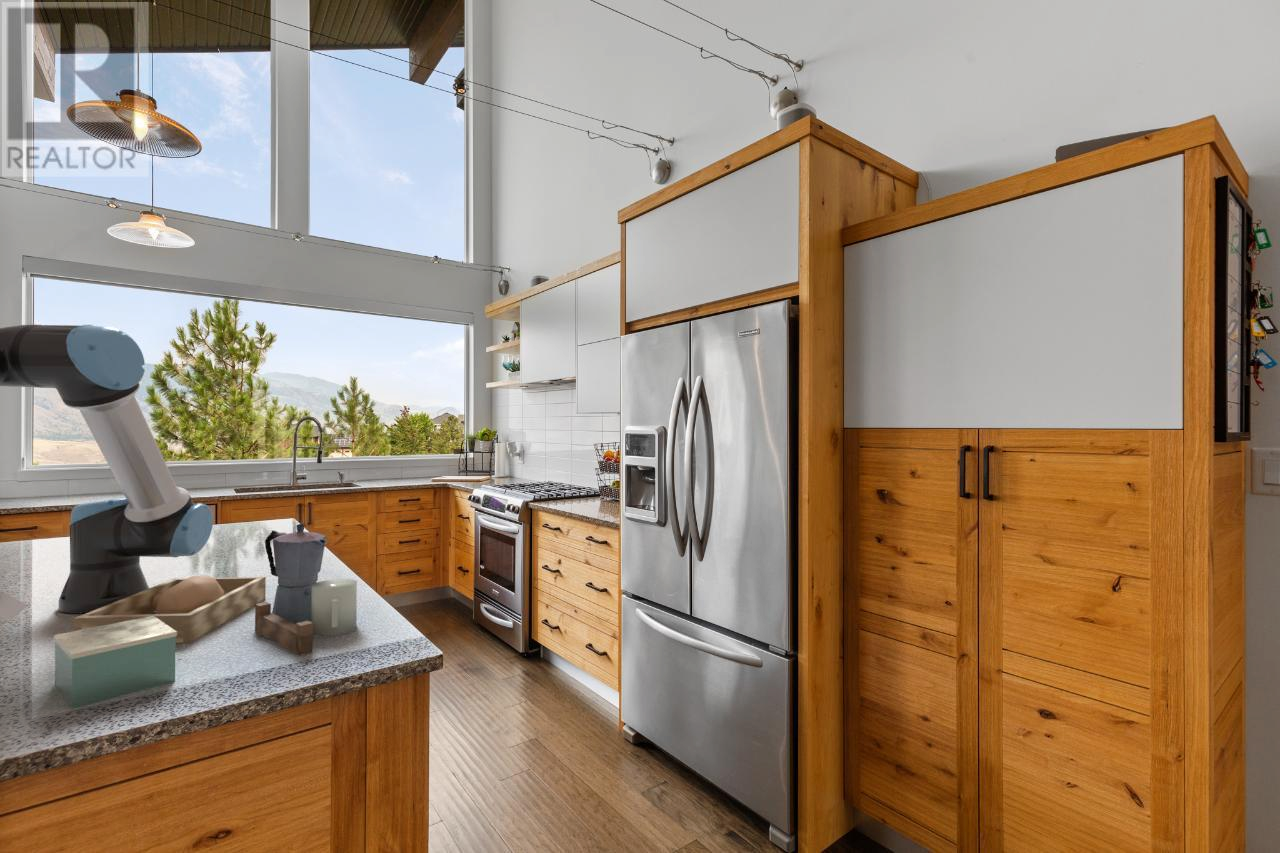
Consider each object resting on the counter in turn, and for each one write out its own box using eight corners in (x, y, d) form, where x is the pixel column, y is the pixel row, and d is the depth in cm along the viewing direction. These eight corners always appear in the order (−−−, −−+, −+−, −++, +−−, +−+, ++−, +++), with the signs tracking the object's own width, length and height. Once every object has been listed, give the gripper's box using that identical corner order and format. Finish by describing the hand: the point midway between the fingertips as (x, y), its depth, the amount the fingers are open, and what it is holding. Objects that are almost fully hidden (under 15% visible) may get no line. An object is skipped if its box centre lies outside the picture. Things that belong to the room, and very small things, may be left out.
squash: (178, 635, 116) (164, 590, 115) (137, 631, 126) (123, 590, 125) (239, 609, 125) (226, 567, 124) (195, 607, 135) (183, 569, 135)
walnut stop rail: (255, 630, 119) (255, 604, 119) (266, 628, 120) (266, 601, 120) (300, 655, 107) (301, 625, 107) (312, 652, 108) (312, 623, 108)
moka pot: (309, 631, 119) (310, 529, 119) (242, 625, 122) (243, 525, 122) (342, 616, 128) (343, 521, 128) (279, 611, 131) (280, 518, 131)
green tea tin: (53, 687, 93) (53, 635, 93) (153, 662, 103) (153, 615, 103) (70, 710, 86) (71, 654, 86) (176, 682, 96) (176, 631, 96)
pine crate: (174, 600, 138) (174, 578, 138) (265, 598, 140) (265, 576, 140) (73, 645, 110) (74, 618, 110) (190, 642, 112) (190, 615, 112)
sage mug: (311, 626, 122) (312, 581, 122) (355, 620, 126) (356, 577, 126) (310, 642, 113) (310, 594, 113) (357, 636, 117) (358, 589, 117)
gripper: (-214, 523, 74) (-17, 627, 87) (-223, 535, 66) (-4, 647, 79) (-142, 477, 79) (36, 582, 92) (-142, 484, 71) (53, 598, 84)
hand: (17, 612), depth 86 cm, fingers closed
